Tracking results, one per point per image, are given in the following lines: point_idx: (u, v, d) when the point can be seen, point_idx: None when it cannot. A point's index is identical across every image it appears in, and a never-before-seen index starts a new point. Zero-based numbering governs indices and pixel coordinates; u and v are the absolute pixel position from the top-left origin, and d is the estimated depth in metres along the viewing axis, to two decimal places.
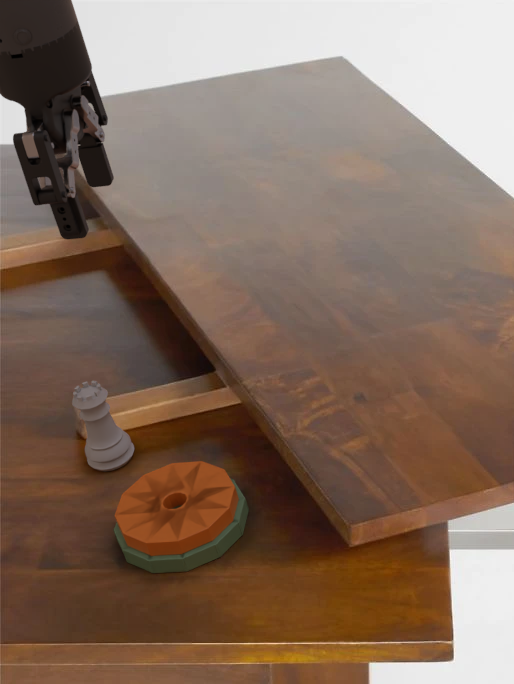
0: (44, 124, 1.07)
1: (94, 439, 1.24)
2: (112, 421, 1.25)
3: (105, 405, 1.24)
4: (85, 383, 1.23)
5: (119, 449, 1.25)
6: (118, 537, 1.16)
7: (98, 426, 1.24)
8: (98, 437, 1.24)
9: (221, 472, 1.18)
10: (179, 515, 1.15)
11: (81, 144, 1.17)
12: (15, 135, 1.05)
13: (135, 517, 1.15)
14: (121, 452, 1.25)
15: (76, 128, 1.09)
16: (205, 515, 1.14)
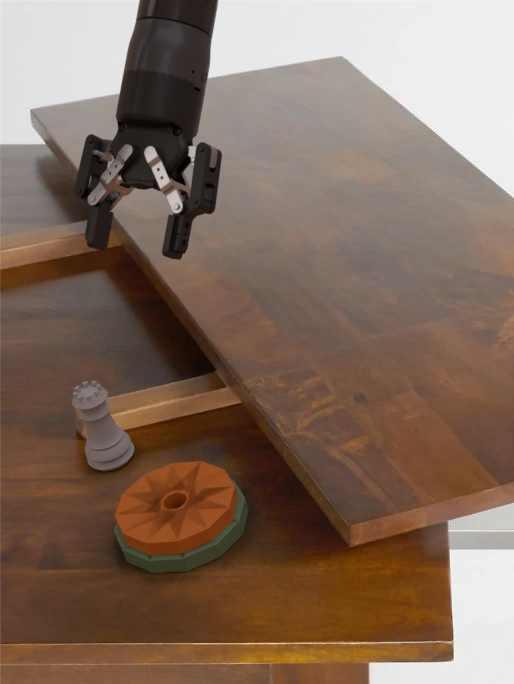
0: None
1: (94, 439, 1.24)
2: (112, 421, 1.25)
3: (105, 405, 1.24)
4: (85, 383, 1.23)
5: (119, 449, 1.25)
6: (118, 537, 1.16)
7: (97, 426, 1.24)
8: (98, 437, 1.24)
9: (221, 472, 1.18)
10: (179, 515, 1.15)
11: (101, 205, 1.27)
12: (205, 143, 1.23)
13: (135, 517, 1.15)
14: (121, 452, 1.25)
15: None
16: (205, 515, 1.14)
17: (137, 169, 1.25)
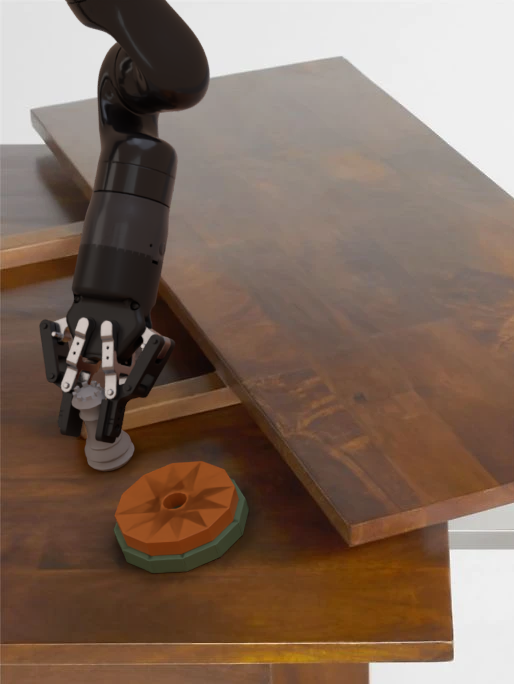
0: (151, 330, 1.23)
1: (94, 439, 1.24)
2: None
3: None
4: (84, 383, 1.23)
5: (119, 449, 1.25)
6: (118, 537, 1.16)
7: None
8: None
9: (221, 472, 1.18)
10: (179, 515, 1.15)
11: None
12: (160, 336, 1.21)
13: (135, 517, 1.15)
14: (120, 452, 1.25)
15: None
16: (205, 515, 1.14)
17: (93, 342, 1.23)
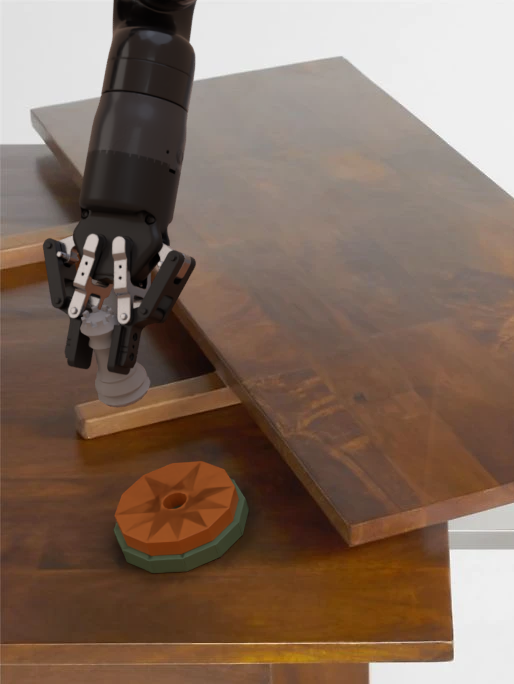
0: None
1: (105, 371, 1.11)
2: None
3: None
4: (94, 308, 1.10)
5: (133, 382, 1.12)
6: (118, 537, 1.16)
7: None
8: None
9: (221, 472, 1.18)
10: (179, 515, 1.15)
11: None
12: (179, 253, 1.07)
13: (135, 517, 1.15)
14: (135, 385, 1.12)
15: None
16: (205, 515, 1.14)
17: (104, 262, 1.10)
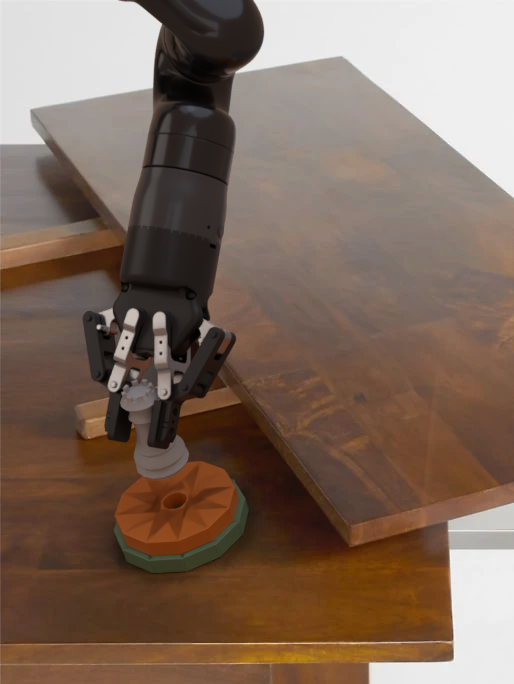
0: (209, 322, 1.10)
1: (144, 444, 1.11)
2: None
3: None
4: (134, 382, 1.10)
5: (172, 455, 1.12)
6: (118, 537, 1.16)
7: None
8: None
9: (221, 472, 1.18)
10: (179, 515, 1.15)
11: (123, 391, 1.11)
12: (220, 329, 1.07)
13: (135, 517, 1.15)
14: (174, 458, 1.12)
15: None
16: (205, 515, 1.14)
17: (144, 336, 1.10)
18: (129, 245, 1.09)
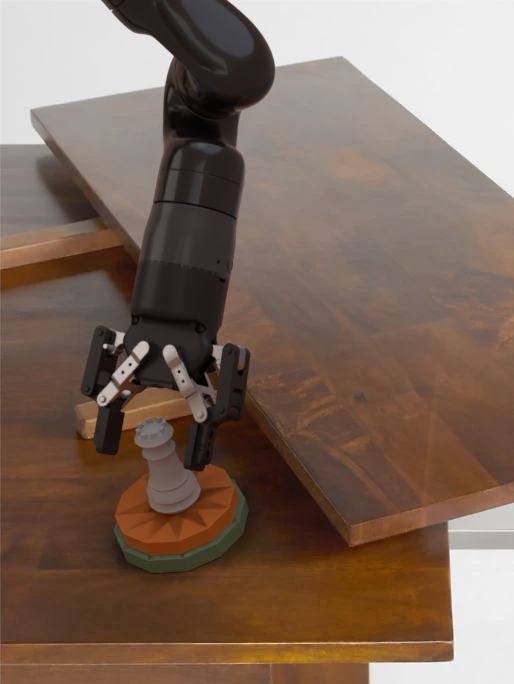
0: None
1: (157, 480, 1.14)
2: (178, 459, 1.14)
3: (171, 442, 1.13)
4: (148, 419, 1.12)
5: (185, 490, 1.14)
6: (118, 537, 1.16)
7: (162, 465, 1.13)
8: (163, 477, 1.13)
9: (221, 472, 1.18)
10: (179, 515, 1.15)
11: (112, 405, 1.14)
12: (232, 344, 1.09)
13: (135, 517, 1.15)
14: (187, 493, 1.14)
15: None
16: (205, 515, 1.14)
17: (154, 368, 1.12)
18: (140, 279, 1.11)
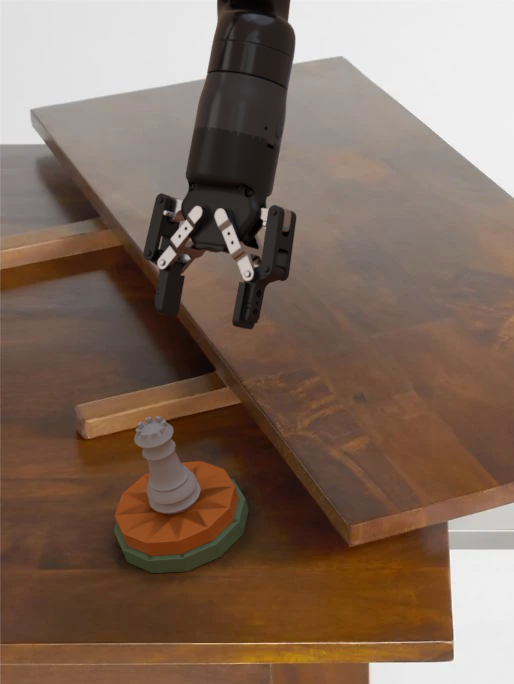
0: None
1: (157, 480, 1.14)
2: (178, 459, 1.14)
3: (171, 442, 1.13)
4: (148, 419, 1.12)
5: (185, 490, 1.14)
6: (118, 537, 1.16)
7: (162, 465, 1.13)
8: (163, 477, 1.13)
9: (221, 472, 1.18)
10: (179, 515, 1.15)
11: (171, 268, 1.20)
12: None
13: (135, 517, 1.15)
14: (187, 493, 1.14)
15: None
16: (205, 515, 1.14)
17: (207, 232, 1.18)
18: (193, 146, 1.17)
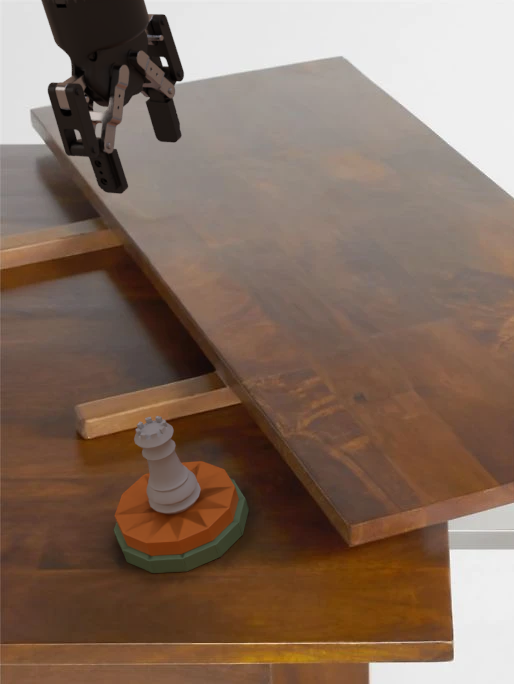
0: (85, 77, 1.06)
1: (157, 480, 1.14)
2: (178, 459, 1.14)
3: (171, 442, 1.13)
4: (148, 419, 1.12)
5: (185, 490, 1.14)
6: (118, 537, 1.16)
7: (162, 465, 1.13)
8: (163, 477, 1.13)
9: (221, 472, 1.18)
10: (179, 515, 1.15)
11: (150, 97, 1.16)
12: (51, 84, 1.05)
13: (135, 517, 1.15)
14: (187, 493, 1.14)
15: (122, 84, 1.08)
16: (205, 515, 1.14)
17: None
18: None
